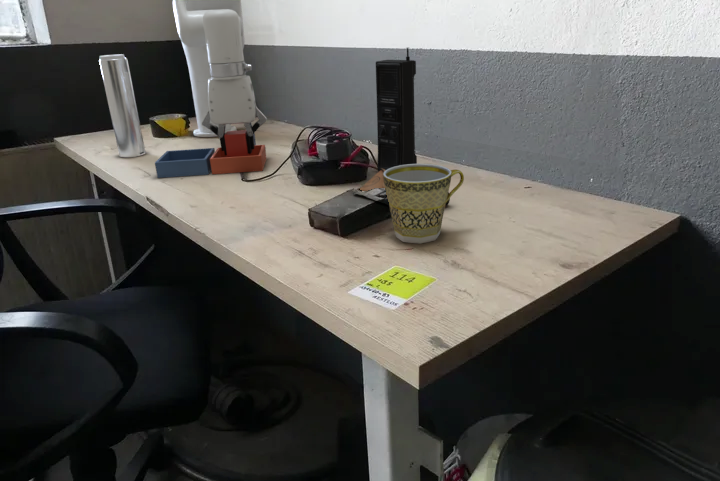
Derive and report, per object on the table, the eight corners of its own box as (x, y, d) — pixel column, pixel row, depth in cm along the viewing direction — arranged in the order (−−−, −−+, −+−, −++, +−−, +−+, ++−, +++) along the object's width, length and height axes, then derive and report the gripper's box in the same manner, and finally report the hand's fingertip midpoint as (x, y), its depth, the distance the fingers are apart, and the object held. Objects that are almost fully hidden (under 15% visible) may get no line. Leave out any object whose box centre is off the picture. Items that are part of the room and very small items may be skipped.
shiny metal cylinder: (124, 158, 145) (103, 56, 135) (115, 155, 150) (94, 55, 140) (149, 154, 149) (130, 53, 139) (140, 150, 153) (120, 53, 144)
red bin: (219, 161, 137) (217, 147, 136) (266, 158, 138) (264, 144, 136) (212, 174, 127) (209, 158, 125) (262, 170, 127) (260, 155, 126)
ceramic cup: (404, 253, 81) (402, 186, 77) (374, 231, 90) (371, 169, 86) (480, 236, 86) (482, 171, 82) (445, 216, 94) (446, 157, 90)
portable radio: (372, 171, 122) (366, 49, 113) (390, 165, 126) (386, 46, 117) (400, 176, 117) (397, 49, 108) (418, 170, 121) (416, 46, 112)
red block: (230, 152, 133) (227, 131, 131) (249, 151, 133) (247, 129, 131) (227, 157, 129) (224, 135, 127) (247, 155, 129) (245, 133, 127)
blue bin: (169, 165, 136) (166, 150, 135) (216, 162, 137) (214, 147, 136) (157, 177, 126) (154, 162, 125) (208, 174, 127) (206, 159, 125)
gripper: (268, 67, 128) (276, 147, 135) (192, 71, 127) (204, 152, 134) (265, 70, 121) (274, 154, 128) (184, 75, 120) (198, 159, 127)
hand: (238, 152), depth 131 cm, fingers closed on red block, 4 cm apart
